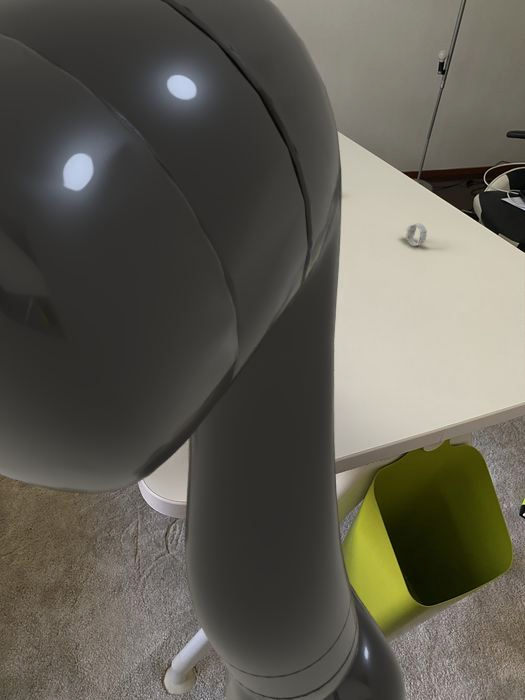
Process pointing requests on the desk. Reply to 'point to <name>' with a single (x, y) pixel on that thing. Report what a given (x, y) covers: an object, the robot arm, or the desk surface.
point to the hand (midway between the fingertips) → (235, 338)
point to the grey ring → (411, 232)
